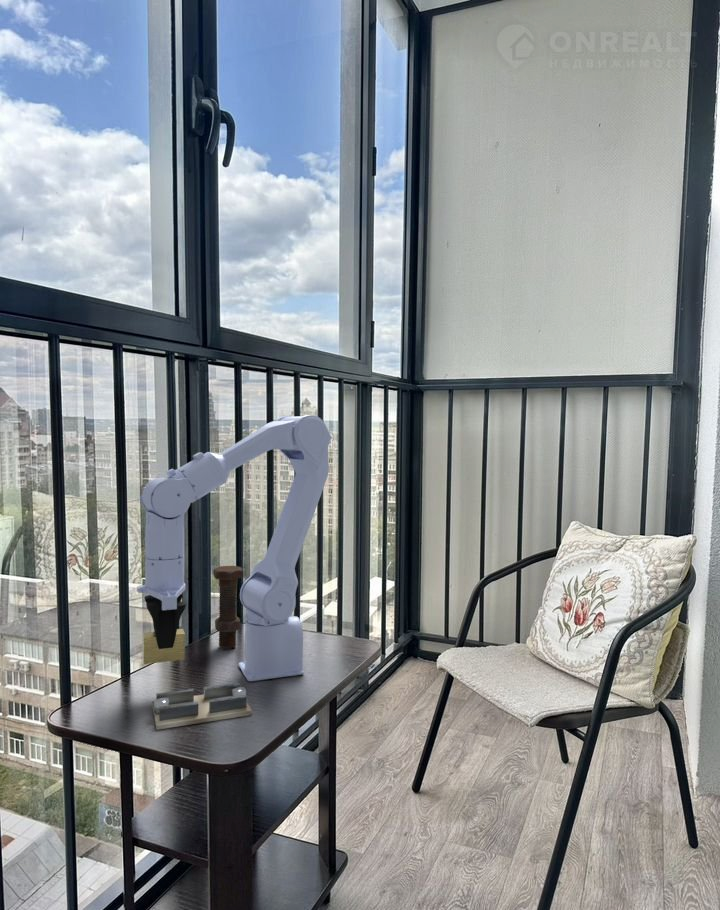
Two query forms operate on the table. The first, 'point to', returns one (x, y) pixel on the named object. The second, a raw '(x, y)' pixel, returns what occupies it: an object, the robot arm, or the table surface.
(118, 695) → the table surface
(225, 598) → the bolt
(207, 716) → the plywood plate
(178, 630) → the khaki rectangular block
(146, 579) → the robot arm
